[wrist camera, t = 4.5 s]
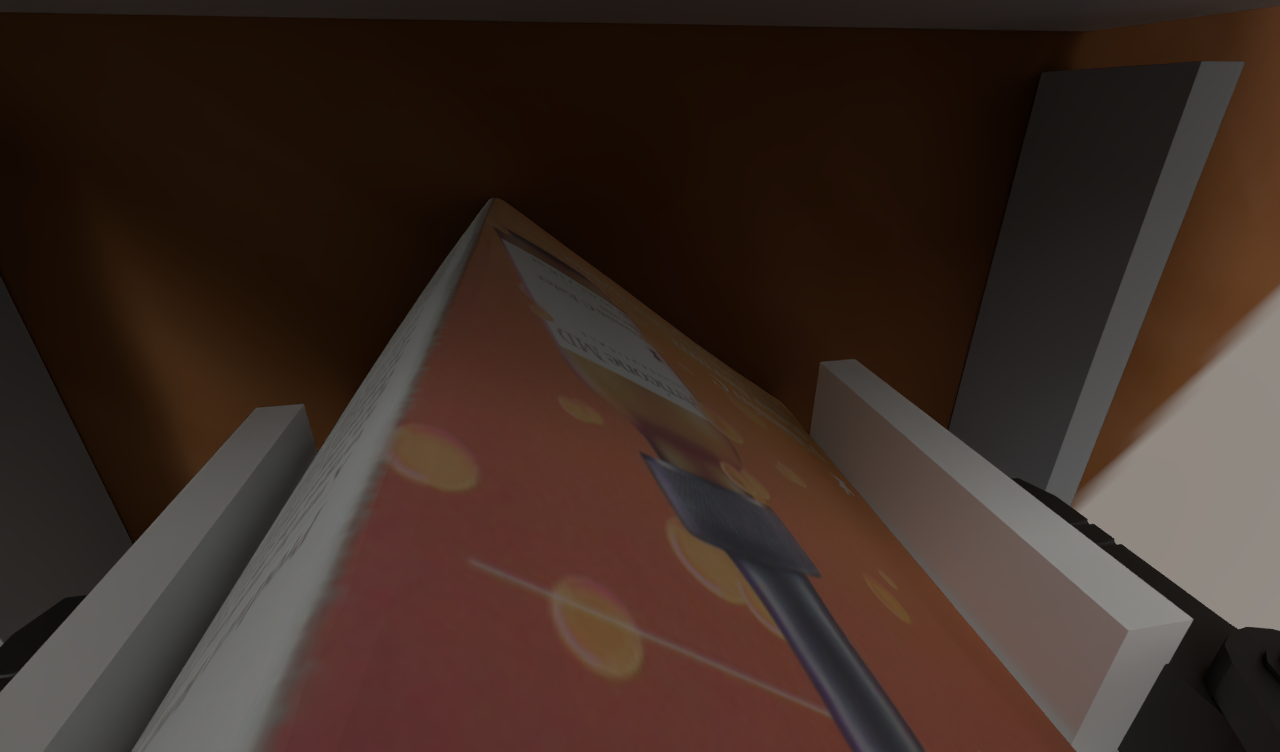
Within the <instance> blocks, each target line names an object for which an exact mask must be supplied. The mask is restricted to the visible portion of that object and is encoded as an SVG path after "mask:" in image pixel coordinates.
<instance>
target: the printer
mask: <svg viewBox="0 0 1280 752" xmlns="http://www.w3.org/2000/svg"><path fill="white" fill-rule="evenodd" d="M1275 6H1280V0H0V12H18V13H75V14H131V15H187V16H244V17H300V18H356V19H412V20H469V21H525V22H581V23H638V24H694V25H750V26H807V27H863V28H919V29H975V30H1032V31H1096V30H1103V29H1111V28H1118V27H1126V26H1133V25H1141V24H1148V23H1155V22H1163V21H1170V20H1178V19H1185V18H1193V17H1200V16H1208V15H1215V14H1222V13H1230V12H1237V11H1245V10H1252V9H1260V8H1267V7H1275ZM1244 63H1245V62H1230V61H1198V62H1183V63H1169V64H1154V65H1139V66H1124V67H1110V68H1095V69H1080V70H1065V71H1050V72H1042V73H1041V77H1040V81H1039V85H1038V89H1037V92H1036V96H1035V100H1034V104H1033V108H1032V112H1031V115H1030V119H1029V123H1028V127H1027V131H1026V135H1025V138H1024V142H1023V146H1022V150H1021V154H1020V158H1019V161H1018V165H1017V169H1016V173H1015V177H1014V181H1013V184H1012V188H1011V192H1010V196H1009V200H1008V203H1007V207H1006V211H1005V215H1004V219H1003V223H1002V226H1001V230H1000V234H999V238H998V242H997V246H996V249H995V253H994V257H993V261H992V265H991V269H990V272H989V276H988V280H987V284H986V288H985V292H984V295H983V299H982V303H981V307H980V311H979V315H978V318H977V322H976V326H975V330H974V334H973V337H972V341H971V345H970V349H969V353H968V357H967V360H966V364H965V368H964V372H963V376H962V380H961V383H960V387H959V391H958V395H957V399H956V403H955V406H954V410H953V414H952V418H951V422H950V426H949V429H948V431H949V432H951V433H952V434H953V435H954V436H956V437H957V438H958V439H960V440H961V441H962V442H964V443H965V444H966V445H967V446H969V447H970V448H971V449H973V450H974V451H975V452H977V453H978V454H979V455H980V456H982V457H983V458H984V459H986V460H987V461H988V462H990V463H991V464H992V465H994V466H995V467H996V468H997V469H999V470H1000V471H1001V472H1003V473H1004V474H1005V475H1007V476H1008V477H1009V478H1010V479H1012V478H1019V479H1021V480H1024V481H1026V482H1028V483H1030V484H1032V485H1034V486H1036V487H1038V488H1040V489H1042V490H1044V491H1047V492H1049V493H1051V494H1053V495H1055V496H1057V497H1058V498H1059V499H1061V500H1062V501H1063V502H1065V503H1066V504H1067V505H1069V506H1071V504H1072V501H1073V499H1074V496H1075V494H1076V491H1077V488H1078V486H1079V483H1080V481H1081V478H1082V476H1083V473H1084V471H1085V468H1086V466H1087V463H1088V460H1089V458H1090V455H1091V453H1092V450H1093V448H1094V445H1095V443H1096V440H1097V438H1098V435H1099V432H1100V430H1101V427H1102V425H1103V422H1104V420H1105V417H1106V415H1107V412H1108V410H1109V407H1110V404H1111V402H1112V399H1113V397H1114V394H1115V392H1116V389H1117V387H1118V384H1119V382H1120V379H1121V376H1122V374H1123V371H1124V369H1125V366H1126V364H1127V361H1128V359H1129V356H1130V354H1131V351H1132V348H1133V346H1134V343H1135V341H1136V338H1137V336H1138V333H1139V331H1140V328H1141V326H1142V323H1143V320H1144V318H1145V315H1146V313H1147V310H1148V308H1149V305H1150V303H1151V300H1152V298H1153V295H1154V292H1155V290H1156V287H1157V285H1158V282H1159V280H1160V277H1161V275H1162V272H1163V270H1164V267H1165V264H1166V262H1167V259H1168V257H1169V254H1170V252H1171V249H1172V247H1173V244H1174V242H1175V239H1176V236H1177V234H1178V231H1179V229H1180V226H1181V224H1182V221H1183V219H1184V216H1185V214H1186V211H1187V208H1188V206H1189V203H1190V201H1191V198H1192V196H1193V193H1194V191H1195V188H1196V186H1197V183H1198V180H1199V178H1200V175H1201V173H1202V170H1203V168H1204V165H1205V163H1206V160H1207V158H1208V155H1209V152H1210V150H1211V147H1212V145H1213V142H1214V140H1215V137H1216V135H1217V132H1218V130H1219V127H1220V124H1221V122H1222V119H1223V117H1224V114H1225V112H1226V109H1227V107H1228V104H1229V102H1230V99H1231V96H1232V94H1233V91H1234V89H1235V86H1236V84H1237V81H1238V79H1239V76H1240V74H1241V71H1242V68H1243V66H1244ZM132 545H133V544H132V542H131V540H130V538H129V536H128V534H127V531H126V529H125V527H124V525H123V523H122V521H121V519H120V517H119V515H118V513H117V511H116V509H115V507H114V505H113V503H112V501H111V499H110V497H109V495H108V493H107V491H106V489H105V487H104V485H103V483H102V481H101V479H100V477H99V475H98V473H97V471H96V469H95V467H94V465H93V463H92V461H91V459H90V457H89V455H88V452H87V450H86V448H85V446H84V444H83V442H82V440H81V438H80V436H79V434H78V432H77V430H76V428H75V426H74V424H73V422H72V420H71V418H70V416H69V414H68V412H67V410H66V408H65V406H64V404H63V402H62V400H61V398H60V396H59V394H58V392H57V390H56V388H55V386H54V384H53V382H52V380H51V378H50V375H49V373H48V371H47V369H46V367H45V365H44V363H43V361H42V359H41V357H40V355H39V353H38V351H37V349H36V347H35V345H34V343H33V341H32V339H31V337H30V335H29V333H28V331H27V329H26V327H25V325H24V323H23V321H22V319H21V317H20V315H19V313H18V311H17V309H16V307H15V305H14V303H13V301H12V299H11V296H10V294H9V292H8V290H7V288H6V286H5V284H4V282H3V280H2V278H1V276H0V647H1V646H2V645H3V644H4V643H5V641H6V640H7V639H8V638H9V637H10V636H11V635H12V634H14V633H15V632H17V631H18V630H20V629H21V628H22V627H24V626H25V625H27V624H28V623H30V622H31V621H32V620H34V619H35V618H37V617H38V616H40V615H41V614H42V613H44V612H45V611H47V610H48V609H50V608H51V607H52V606H54V605H55V604H57V603H58V602H60V601H61V600H63V599H64V598H65V597H73V596H82V595H88V594H89V593H90V592H91V591H92V590H93V589H94V588H95V586H96V585H97V584H98V583H99V582H100V581H101V580H102V579H103V578H104V576H105V575H106V574H107V573H108V572H109V571H110V570H111V569H112V568H113V566H114V565H115V564H116V563H117V562H118V561H119V560H120V559H121V558H122V556H123V555H124V554H125V553H126V552H127V551H128V550H129V549H130V548H131V546H132Z"/></svg>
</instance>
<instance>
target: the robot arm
mask: <svg viewBox="0 0 1280 752" xmlns="http://www.w3.org/2000/svg"><path fill="white" fill-rule="evenodd" d="M810 436H811V437H812V438H813V440H814V441H815V442H816V443H817V444H818V445H819V446H820V447H821V449H822V450H823V451H824V452H825V454H826V455H827V456H828V457H829V458H830V460H831V461H832V462H833V463H834V464H835V466H836V467H837V468H838V469H839V470H840V472H841V473H842V474H843V475H844V476H845V477H846V479H847V480H848V481H849V482H850V483H851V484H852V485H853V487H854V488H855V489H856V490H857V491H858V493H859V494H860V495H861V496H862V497H863V498H864V500H865V501H866V502H867V503H868V504H869V506H870V507H871V508H872V509H873V510H874V512H875V513H876V514H877V515H878V516H879V518H880V519H881V520H882V521H883V522H884V524H885V525H886V526H887V527H888V528H889V530H890V531H891V532H892V533H893V534H894V535H895V537H896V538H897V539H898V540H899V541H900V542H901V544H902V545H903V546H904V547H905V548H906V549H907V551H908V552H909V553H910V554H911V555H912V557H913V558H914V559H915V560H916V561H917V562H918V564H919V565H920V566H921V567H922V568H923V569H924V571H925V572H926V573H927V574H928V575H929V577H930V578H931V579H932V580H933V581H934V582H935V584H936V585H937V586H938V587H939V588H940V590H941V591H942V592H943V593H944V594H945V596H946V597H947V598H948V599H949V601H950V602H951V603H952V604H953V605H954V607H955V608H956V609H957V610H958V611H959V613H960V614H961V615H962V616H963V617H964V619H965V620H966V621H967V622H968V623H969V624H970V626H971V627H972V628H973V629H974V630H975V631H976V633H977V634H978V635H979V636H980V637H981V639H982V640H983V641H984V642H985V643H986V644H987V646H988V647H989V648H990V649H991V650H992V651H993V653H994V654H995V655H996V656H997V657H998V659H999V660H1000V661H1001V662H1002V663H1003V665H1004V666H1005V667H1006V668H1007V669H1008V671H1009V672H1010V673H1011V674H1012V675H1013V677H1014V678H1015V679H1016V680H1017V681H1018V682H1019V684H1020V685H1021V686H1022V687H1023V688H1024V690H1025V691H1026V692H1027V693H1028V694H1029V696H1030V697H1031V698H1032V699H1033V700H1034V702H1035V703H1036V704H1037V705H1038V706H1039V708H1040V709H1041V710H1042V711H1043V712H1044V713H1045V715H1046V716H1047V717H1048V718H1049V719H1050V721H1051V722H1052V723H1053V724H1054V725H1055V727H1056V728H1057V729H1058V730H1059V731H1060V733H1061V734H1062V735H1063V736H1064V737H1065V739H1066V740H1067V741H1068V742H1069V743H1070V745H1071V746H1072V747H1073V748H1074V749H1075V750H1076V752H1280V631H1278V630H1274V629H1265V628H1254V627H1245V628H1242V629H1237V628H1235V627H1234V626H1232V625H1231V624H1229V623H1228V622H1227V621H1225V620H1224V619H1222V618H1221V617H1220V616H1218V615H1217V614H1215V613H1214V612H1213V611H1212V610H1210V609H1209V608H1207V607H1206V606H1205V605H1203V604H1202V603H1201V602H1199V601H1198V600H1197V599H1195V598H1194V597H1192V596H1191V595H1190V594H1188V593H1187V592H1186V591H1184V590H1183V589H1182V588H1180V587H1179V586H1177V585H1176V584H1175V583H1174V582H1172V581H1171V580H1169V579H1168V578H1167V577H1165V576H1164V575H1163V574H1161V573H1160V572H1159V571H1157V570H1156V569H1154V568H1153V567H1152V566H1150V565H1149V564H1148V563H1146V562H1145V561H1143V560H1142V559H1141V558H1139V557H1138V556H1136V555H1135V554H1134V553H1132V552H1131V551H1129V550H1128V549H1127V548H1126V547H1125V546H1123V545H1122V544H1119V545H1116V544H1115V542H1114V538H1112V537H1111V536H1110V535H1108V534H1107V533H1105V532H1104V531H1103V530H1101V529H1100V528H1099V527H1097V526H1096V525H1095V524H1089V523H1088V521H1087V519H1086V518H1085V517H1084V516H1082V515H1081V514H1080V513H1078V512H1077V511H1076V510H1074V509H1073V508H1072V507H1070V506H1069V505H1067V504H1066V503H1065V502H1063V501H1062V500H1061V499H1059V498H1058V497H1057V496H1055V495H1053V494H1051V493H1049V492H1047V491H1044V490H1042V489H1040V488H1038V487H1036V486H1034V485H1032V484H1030V483H1028V482H1026V481H1024V480H1021V479H1019V478H1012V479H1010V478H1009V477H1008V476H1007V475H1005V474H1004V473H1003V472H1001V471H1000V470H999V469H997V468H996V467H995V466H994V465H992V464H991V463H990V462H988V461H987V460H986V459H984V458H983V457H982V456H980V455H979V454H978V453H977V452H975V451H974V450H973V449H971V448H970V447H969V446H967V445H966V444H965V443H964V442H962V441H961V440H960V439H958V438H957V437H956V436H954V435H953V434H952V433H951V432H949V431H948V430H947V429H945V428H944V427H943V426H941V425H940V424H939V423H938V422H936V421H935V420H934V419H932V418H931V417H930V416H928V415H927V414H926V413H925V412H923V411H922V410H921V409H919V408H918V407H917V406H915V405H914V404H913V403H912V402H910V401H909V400H908V399H906V398H905V397H904V396H902V395H901V394H900V393H899V392H897V391H896V390H895V389H893V388H892V387H891V386H889V385H888V384H887V383H886V382H884V381H883V380H882V379H880V378H879V377H878V376H876V375H875V374H874V373H872V372H871V371H870V370H869V369H867V368H866V367H865V366H863V365H862V364H861V363H859V362H858V361H857V360H856V359H849V360H837V361H825V362H820V364H819V371H818V379H817V386H816V393H815V400H814V407H813V414H812V421H811V428H810ZM317 453H318V451H317V448H316V444H315V441H314V437H313V434H312V430H311V427H310V423H309V420H308V417H307V413H306V410H305V406H304V404H297V405H285V406H273V407H260V408H256V409H255V410H254V411H253V412H252V413H251V414H250V415H249V416H248V417H247V419H246V420H245V421H244V422H243V423H242V424H241V425H240V426H239V427H238V429H237V430H236V431H235V432H234V433H233V434H232V435H231V436H230V437H229V439H228V440H227V441H226V442H225V443H224V444H223V445H222V446H221V447H220V449H219V450H218V451H217V452H216V453H215V454H214V455H213V456H212V457H211V459H210V460H209V461H208V462H207V463H206V464H205V465H204V466H203V467H202V469H201V470H200V471H199V472H198V473H197V474H196V475H195V476H194V477H193V479H192V480H191V481H190V482H189V483H188V484H187V485H186V486H185V487H184V489H183V490H182V491H181V492H180V493H179V494H178V495H177V496H176V498H175V499H174V500H173V501H172V502H171V503H170V504H169V505H168V506H167V508H166V509H165V510H164V511H163V512H162V513H161V514H160V515H159V516H158V518H157V519H156V520H155V521H154V522H153V523H152V524H151V525H150V526H149V528H148V529H147V530H146V531H145V532H144V533H143V534H142V535H141V536H140V538H139V539H138V540H137V541H136V542H135V543H134V544H133V545H132V546H131V548H130V549H129V550H128V551H127V552H126V553H125V554H124V555H123V556H122V558H121V559H120V560H119V561H118V562H117V563H116V564H115V565H114V566H113V568H112V569H111V570H110V571H109V572H108V573H107V574H106V575H105V576H104V578H103V579H102V580H101V581H100V582H99V583H98V584H97V585H96V586H95V588H94V589H93V590H92V591H91V592H90V593H89V594H88V595H82V596H73V597H65V598H64V599H63V600H61V601H60V602H58V603H57V604H55V605H54V606H52V607H51V608H50V609H48V610H47V611H45V612H44V613H42V614H41V615H40V616H38V617H37V618H35V619H34V620H32V621H31V622H30V623H28V624H27V625H25V626H24V627H22V628H21V629H20V630H18V631H17V632H15V633H14V634H12V635H11V636H10V637H9V638H8V639H7V640H6V641H5V643H4V644H3V645H2V646H1V647H0V752H131V751H132V749H133V748H134V746H135V744H136V743H137V741H138V740H139V738H140V736H141V735H142V733H143V732H144V730H145V728H146V727H147V725H148V724H149V722H150V720H151V719H152V717H153V716H154V714H155V712H156V711H157V709H158V707H159V706H160V704H161V703H162V701H163V699H164V698H165V696H166V695H167V693H168V691H169V690H170V688H171V687H172V685H173V683H174V682H175V680H176V679H177V677H178V675H179V674H180V672H181V671H182V669H183V667H184V666H185V664H186V663H187V661H188V659H189V658H190V656H191V655H192V653H193V651H194V650H195V648H196V647H197V645H198V643H199V642H200V640H201V639H202V637H203V635H204V634H205V632H206V631H207V629H208V627H209V626H210V624H211V623H212V621H213V619H214V618H215V616H216V615H217V613H218V611H219V610H220V608H221V606H222V605H223V603H224V602H225V600H226V598H227V597H228V595H229V594H230V592H231V590H232V589H233V587H234V586H235V584H236V582H237V581H238V579H239V578H240V576H241V574H242V573H243V571H244V570H245V568H246V566H247V565H248V563H249V562H250V560H251V558H252V557H253V555H254V554H255V552H256V550H257V549H258V547H259V546H260V544H261V542H262V541H263V539H264V538H265V536H266V534H267V533H268V531H269V530H270V528H271V526H272V525H273V523H274V522H275V520H276V518H277V517H278V515H279V514H280V512H281V511H282V509H283V507H284V506H285V504H286V503H287V501H288V499H289V498H290V496H291V495H292V493H293V491H294V490H295V488H296V487H297V485H298V483H299V482H300V480H301V479H302V477H303V476H304V474H305V472H306V471H307V469H308V468H309V466H310V464H311V463H312V461H313V460H314V458H315V456H316V455H317Z"/></svg>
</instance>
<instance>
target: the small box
mask: <svg viewBox="0 0 1280 752" xmlns="http://www.w3.org/2000/svg"><path fill="white" fill-rule="evenodd" d="M131 752H1076V750H1075V749H1074V748H1073V747H1072V746H1071V745H1070V743H1069V742H1068V741H1067V740H1066V739H1065V737H1064V736H1063V735H1062V734H1061V733H1060V731H1059V730H1058V729H1057V728H1056V727H1055V725H1054V724H1053V723H1052V722H1051V721H1050V719H1049V718H1048V717H1047V716H1046V715H1045V713H1044V712H1043V711H1042V710H1041V709H1040V708H1039V706H1038V705H1037V704H1036V703H1035V702H1034V700H1033V699H1032V698H1031V697H1030V696H1029V694H1028V693H1027V692H1026V691H1025V690H1024V688H1023V687H1022V686H1021V685H1020V684H1019V682H1018V681H1017V680H1016V679H1015V678H1014V677H1013V675H1012V674H1011V673H1010V672H1009V671H1008V669H1007V668H1006V667H1005V666H1004V665H1003V663H1002V662H1001V661H1000V660H999V659H998V657H997V656H996V655H995V654H994V653H993V651H992V650H991V649H990V648H989V647H988V646H987V644H986V643H985V642H984V641H983V640H982V639H981V637H980V636H979V635H978V634H977V633H976V631H975V630H974V629H973V628H972V627H971V626H970V624H969V623H968V622H967V621H966V620H965V619H964V617H963V616H962V615H961V614H960V613H959V611H958V610H957V609H956V608H955V607H954V605H953V604H952V603H951V602H950V601H949V599H948V598H947V597H946V596H945V594H944V593H943V592H942V591H941V590H940V588H939V587H938V586H937V585H936V584H935V582H934V581H933V580H932V579H931V578H930V577H929V575H928V574H927V573H926V572H925V571H924V569H923V568H922V567H921V566H920V565H919V564H918V562H917V561H916V560H915V559H914V558H913V557H912V555H911V554H910V553H909V552H908V551H907V549H906V548H905V547H904V546H903V545H902V544H901V542H900V541H899V540H898V539H897V538H896V537H895V535H894V534H893V533H892V532H891V531H890V530H889V528H888V527H887V526H886V525H885V524H884V522H883V521H882V520H881V519H880V518H879V516H878V515H877V514H876V513H875V512H874V510H873V509H872V508H871V507H870V506H869V504H868V503H867V502H866V501H865V500H864V498H863V497H862V496H861V495H860V494H859V493H858V491H857V490H856V489H855V488H854V487H853V485H852V484H851V483H850V482H849V481H848V480H847V479H846V477H845V476H844V475H843V474H842V473H841V472H840V470H839V469H838V468H837V467H836V466H835V464H834V463H833V462H832V461H831V460H830V458H829V457H828V456H827V455H826V454H825V452H824V451H823V450H822V449H821V447H820V446H819V445H818V444H817V443H816V442H815V441H814V440H813V438H812V437H811V436H810V435H809V434H808V433H807V432H806V430H805V429H804V428H803V427H802V426H801V424H800V423H799V422H798V421H797V419H796V418H795V417H794V416H793V415H792V414H791V412H790V411H789V410H788V409H787V408H786V406H784V405H783V404H782V403H781V402H780V401H779V400H778V399H776V398H775V397H773V396H771V395H770V394H768V393H767V392H766V391H764V390H763V389H761V388H760V387H759V386H757V385H755V384H754V383H752V382H751V381H749V380H748V379H746V378H745V377H743V376H742V375H740V374H739V373H737V372H736V371H734V370H733V369H732V368H730V367H729V366H727V365H726V364H724V363H723V362H722V361H720V360H719V359H717V358H716V357H715V356H713V355H712V354H710V353H709V352H708V351H706V350H705V349H703V348H702V347H701V346H699V345H698V344H696V343H695V342H694V341H692V340H691V339H690V338H688V337H687V336H686V335H684V334H683V333H682V332H680V331H679V330H678V329H676V328H675V327H674V326H672V325H671V324H669V323H668V322H667V321H665V320H664V319H663V318H661V317H660V316H659V315H657V314H656V313H655V312H653V311H652V310H651V309H650V308H648V307H647V306H646V305H644V304H643V303H642V302H640V301H639V300H638V299H636V298H635V297H634V296H632V295H631V294H630V293H628V292H627V291H626V290H624V289H623V288H622V287H620V286H619V285H618V284H616V283H615V282H614V281H612V280H611V279H610V278H608V277H607V276H605V275H604V274H603V273H601V272H600V271H599V270H597V269H596V268H595V267H593V266H592V265H590V264H589V263H588V262H586V261H585V260H584V259H582V258H581V257H579V256H578V255H577V254H575V253H574V252H573V251H571V250H570V249H569V248H567V247H566V246H564V245H563V244H562V243H560V242H559V241H558V240H556V239H555V238H554V237H552V236H551V235H550V234H548V233H547V232H546V231H544V230H543V229H542V228H540V227H539V226H538V225H536V224H535V223H534V222H532V221H531V220H530V219H528V218H527V217H526V216H524V215H523V214H522V213H520V212H519V211H517V210H516V209H515V208H513V207H512V206H511V205H509V204H508V203H506V202H505V201H504V200H501V199H499V198H491V199H489V200H488V201H487V203H486V204H485V205H484V207H483V208H482V209H481V211H480V212H479V213H478V215H477V216H476V218H475V219H474V220H473V222H472V223H471V224H470V226H469V227H468V228H467V230H466V231H465V233H464V234H463V235H462V237H461V238H460V239H459V241H458V242H457V243H456V245H455V246H454V248H453V249H452V250H451V252H450V253H449V254H448V256H447V257H446V259H445V260H444V261H443V263H442V264H441V266H440V267H439V269H438V270H437V272H436V273H435V274H434V276H433V277H432V279H431V280H430V282H429V283H428V285H427V286H426V287H425V289H424V290H423V292H422V293H421V295H420V296H419V298H418V299H417V301H416V302H415V304H414V305H413V307H412V308H411V310H410V311H409V313H408V314H407V316H406V317H405V319H404V320H403V322H402V323H401V325H400V326H399V328H398V329H397V330H396V332H395V333H394V335H393V336H392V338H391V339H390V341H389V342H388V344H387V345H386V347H385V349H384V350H383V352H382V353H381V355H380V356H379V358H378V359H377V361H376V362H375V364H374V366H373V367H372V369H371V370H370V372H369V373H368V375H367V376H366V378H365V379H364V381H363V382H362V384H361V386H360V387H359V389H358V390H357V392H356V393H355V395H354V396H353V398H352V399H351V401H350V403H349V404H348V406H347V407H346V409H345V410H344V412H343V414H342V415H341V417H340V418H339V420H338V422H337V423H336V425H335V426H334V428H333V429H332V431H331V433H330V434H329V436H328V437H327V439H326V441H325V442H324V444H323V445H322V447H321V449H320V450H319V452H318V453H317V455H316V456H315V458H314V460H313V461H312V463H311V464H310V466H309V468H308V469H307V471H306V472H305V474H304V476H303V477H302V479H301V480H300V482H299V483H298V485H297V487H296V488H295V490H294V491H293V493H292V495H291V496H290V498H289V499H288V501H287V503H286V504H285V506H284V507H283V509H282V511H281V512H280V514H279V515H278V517H277V518H276V520H275V522H274V523H273V525H272V526H271V528H270V530H269V531H268V533H267V534H266V536H265V538H264V539H263V541H262V542H261V544H260V546H259V547H258V549H257V550H256V552H255V554H254V555H253V557H252V558H251V560H250V562H249V563H248V565H247V566H246V568H245V570H244V571H243V573H242V574H241V576H240V578H239V579H238V581H237V582H236V584H235V586H234V587H233V589H232V590H231V592H230V594H229V595H228V597H227V598H226V600H225V602H224V603H223V605H222V606H221V608H220V610H219V611H218V613H217V615H216V616H215V618H214V619H213V621H212V623H211V624H210V626H209V627H208V629H207V631H206V632H205V634H204V635H203V637H202V639H201V640H200V642H199V643H198V645H197V647H196V648H195V650H194V651H193V653H192V655H191V656H190V658H189V659H188V661H187V663H186V664H185V666H184V667H183V669H182V671H181V672H180V674H179V675H178V677H177V679H176V680H175V682H174V683H173V685H172V687H171V688H170V690H169V691H168V693H167V695H166V696H165V698H164V699H163V701H162V703H161V704H160V706H159V707H158V709H157V711H156V712H155V714H154V716H153V717H152V719H151V720H150V722H149V724H148V725H147V727H146V728H145V730H144V732H143V733H142V735H141V736H140V738H139V740H138V741H137V743H136V744H135V746H134V748H133V749H132V751H131Z"/></svg>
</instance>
